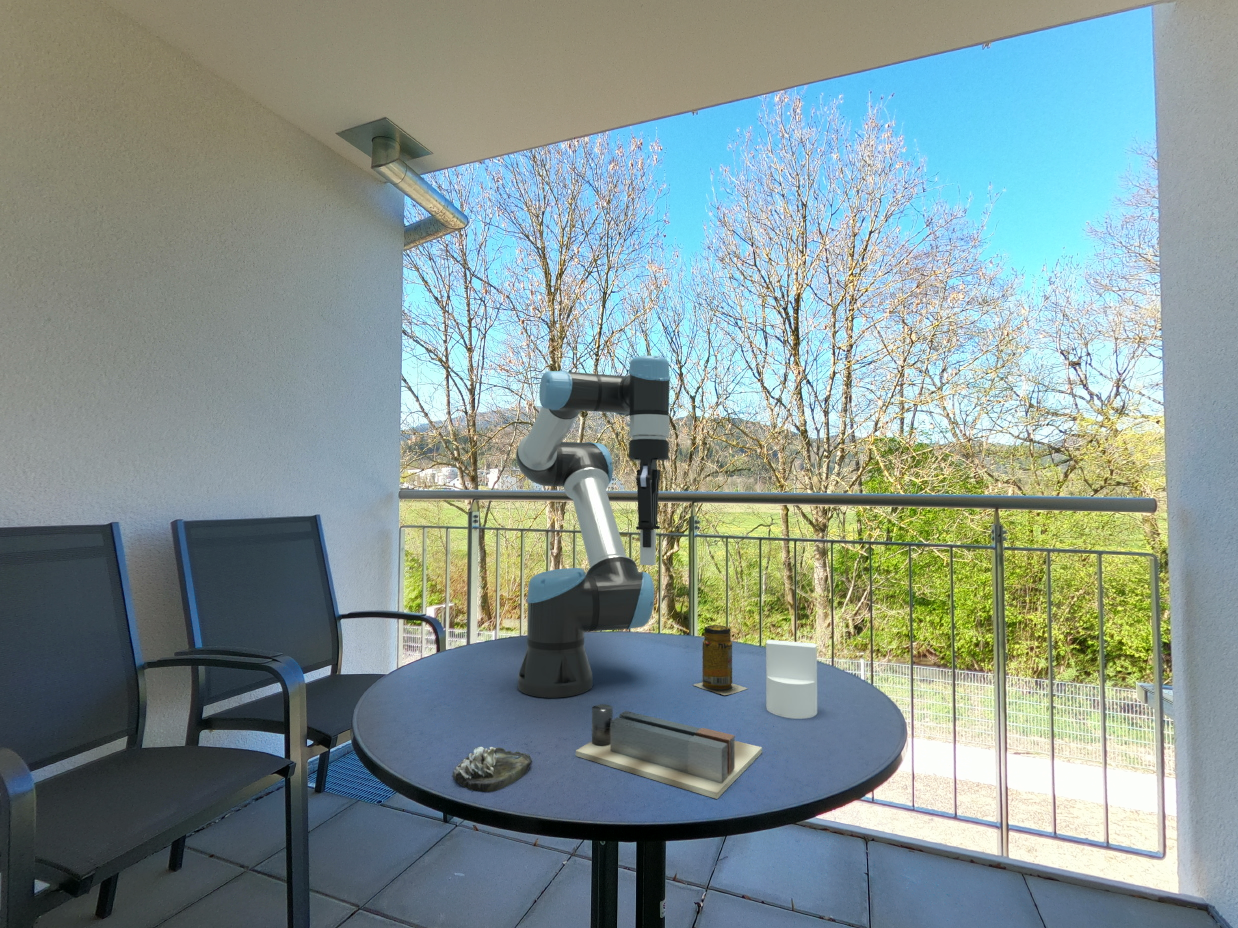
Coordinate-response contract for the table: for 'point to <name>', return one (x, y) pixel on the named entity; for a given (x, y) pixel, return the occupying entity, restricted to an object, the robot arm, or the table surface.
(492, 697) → the table surface
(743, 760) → the board
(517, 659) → the table surface
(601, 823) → the table surface
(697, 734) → the tong arm
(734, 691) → the condiment
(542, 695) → the robot arm
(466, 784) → the log
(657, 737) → the tongs fixed
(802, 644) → the base with upright slab
